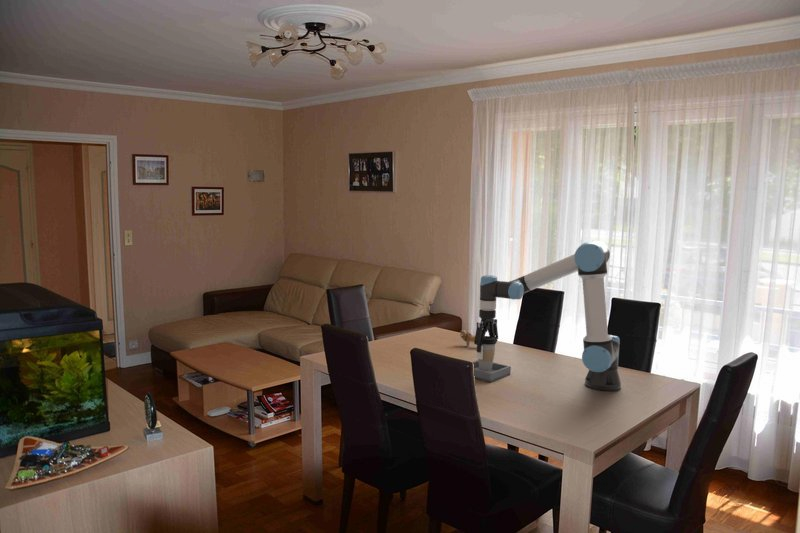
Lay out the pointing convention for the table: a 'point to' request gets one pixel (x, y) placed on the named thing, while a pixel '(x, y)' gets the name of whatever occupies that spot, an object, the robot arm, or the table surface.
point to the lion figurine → (467, 337)
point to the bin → (491, 372)
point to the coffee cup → (487, 354)
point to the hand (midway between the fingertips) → (485, 356)
